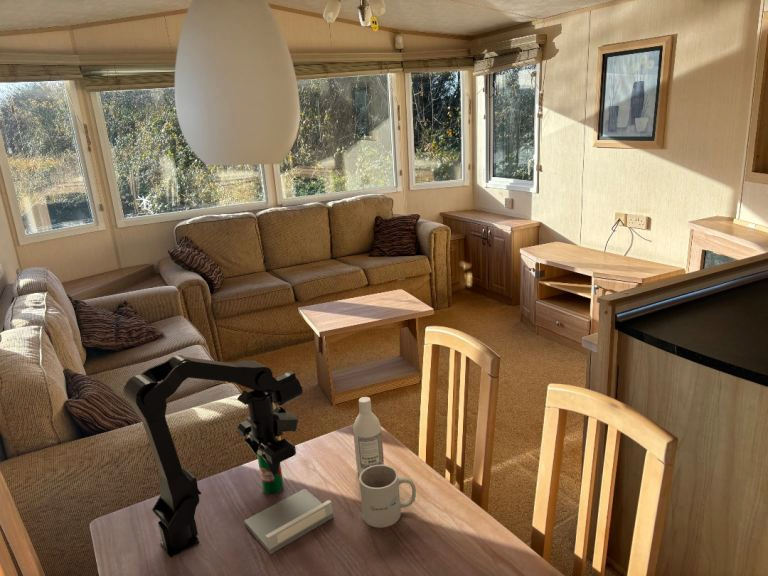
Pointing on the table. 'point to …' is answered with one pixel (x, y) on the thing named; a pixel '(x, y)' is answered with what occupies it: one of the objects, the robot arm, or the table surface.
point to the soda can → (269, 474)
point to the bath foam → (367, 437)
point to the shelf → (288, 520)
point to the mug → (382, 495)
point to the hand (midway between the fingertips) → (270, 469)
